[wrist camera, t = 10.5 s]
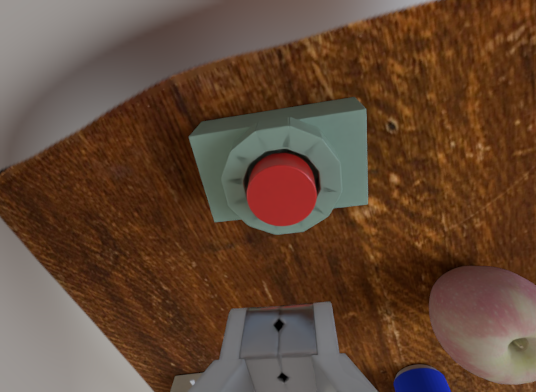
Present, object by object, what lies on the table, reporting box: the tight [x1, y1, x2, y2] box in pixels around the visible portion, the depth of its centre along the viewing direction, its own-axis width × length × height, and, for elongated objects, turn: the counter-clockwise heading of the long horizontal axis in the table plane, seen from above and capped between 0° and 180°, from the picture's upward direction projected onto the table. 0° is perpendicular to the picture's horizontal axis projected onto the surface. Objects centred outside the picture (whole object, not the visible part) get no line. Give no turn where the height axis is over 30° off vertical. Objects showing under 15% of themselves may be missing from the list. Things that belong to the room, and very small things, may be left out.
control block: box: [189, 97, 368, 235], centre depth 19 cm, size 10×6×5 cm, turn 100°
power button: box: [246, 153, 317, 226], centre depth 16 cm, size 4×4×2 cm
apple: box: [429, 266, 536, 384], centre depth 22 cm, size 8×8×8 cm
